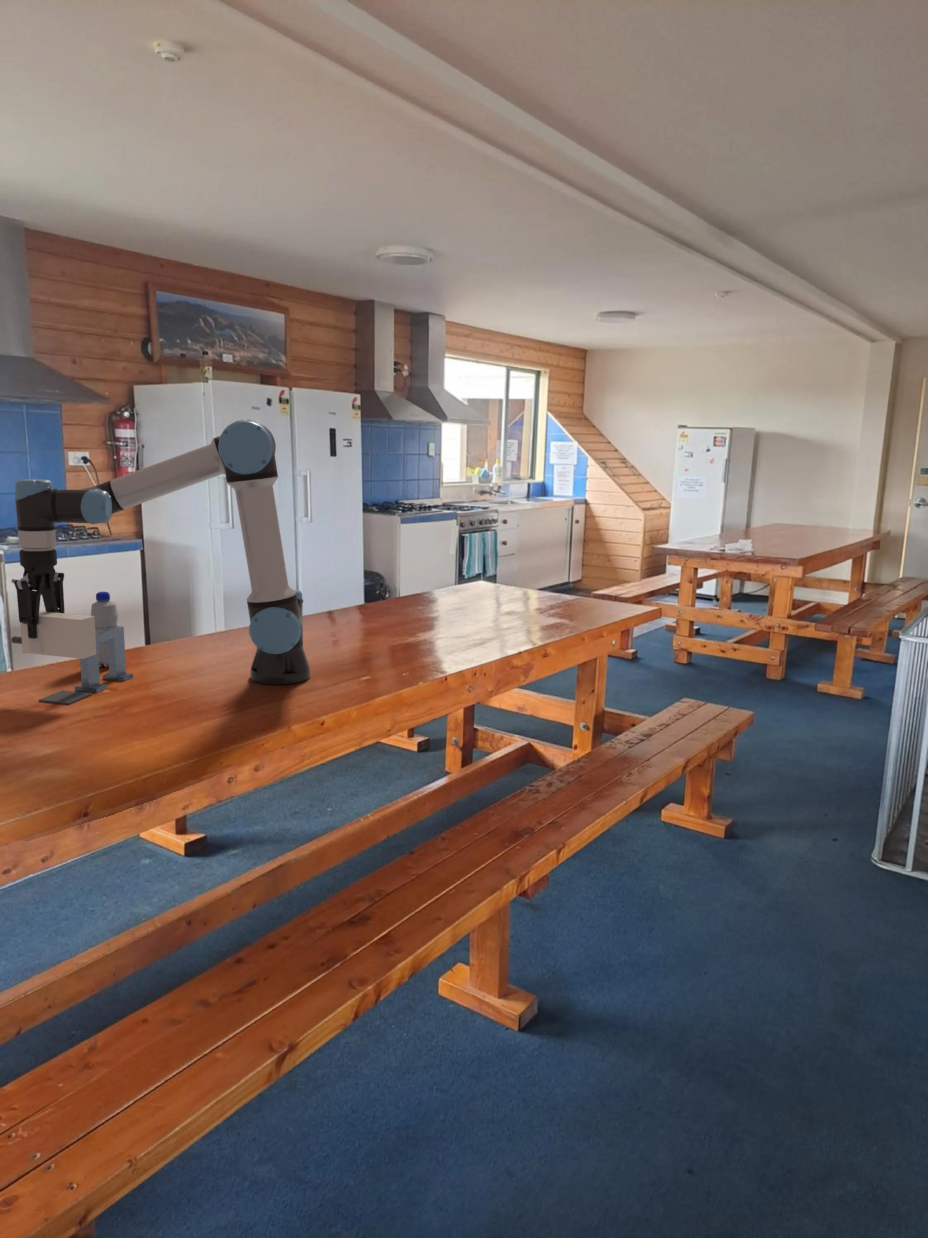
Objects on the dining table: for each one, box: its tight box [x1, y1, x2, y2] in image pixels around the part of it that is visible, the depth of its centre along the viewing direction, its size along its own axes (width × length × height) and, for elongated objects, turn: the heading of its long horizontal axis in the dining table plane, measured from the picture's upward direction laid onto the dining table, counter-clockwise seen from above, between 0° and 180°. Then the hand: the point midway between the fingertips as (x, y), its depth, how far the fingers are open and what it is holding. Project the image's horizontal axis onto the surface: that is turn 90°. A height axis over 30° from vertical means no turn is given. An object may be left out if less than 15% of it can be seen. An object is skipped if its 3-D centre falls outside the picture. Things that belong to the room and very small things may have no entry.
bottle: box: [90, 591, 119, 668], centre depth 222 cm, size 7×7×20 cm
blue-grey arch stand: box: [74, 625, 134, 694], centre depth 206 cm, size 6×14×13 cm, turn 167°
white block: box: [11, 610, 96, 660], centre depth 193 cm, size 20×4×9 cm, turn 77°
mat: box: [38, 689, 93, 705], centre depth 195 cm, size 8×8×1 cm
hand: (44, 648), depth 194 cm, fingers closed on white block, 4 cm apart
